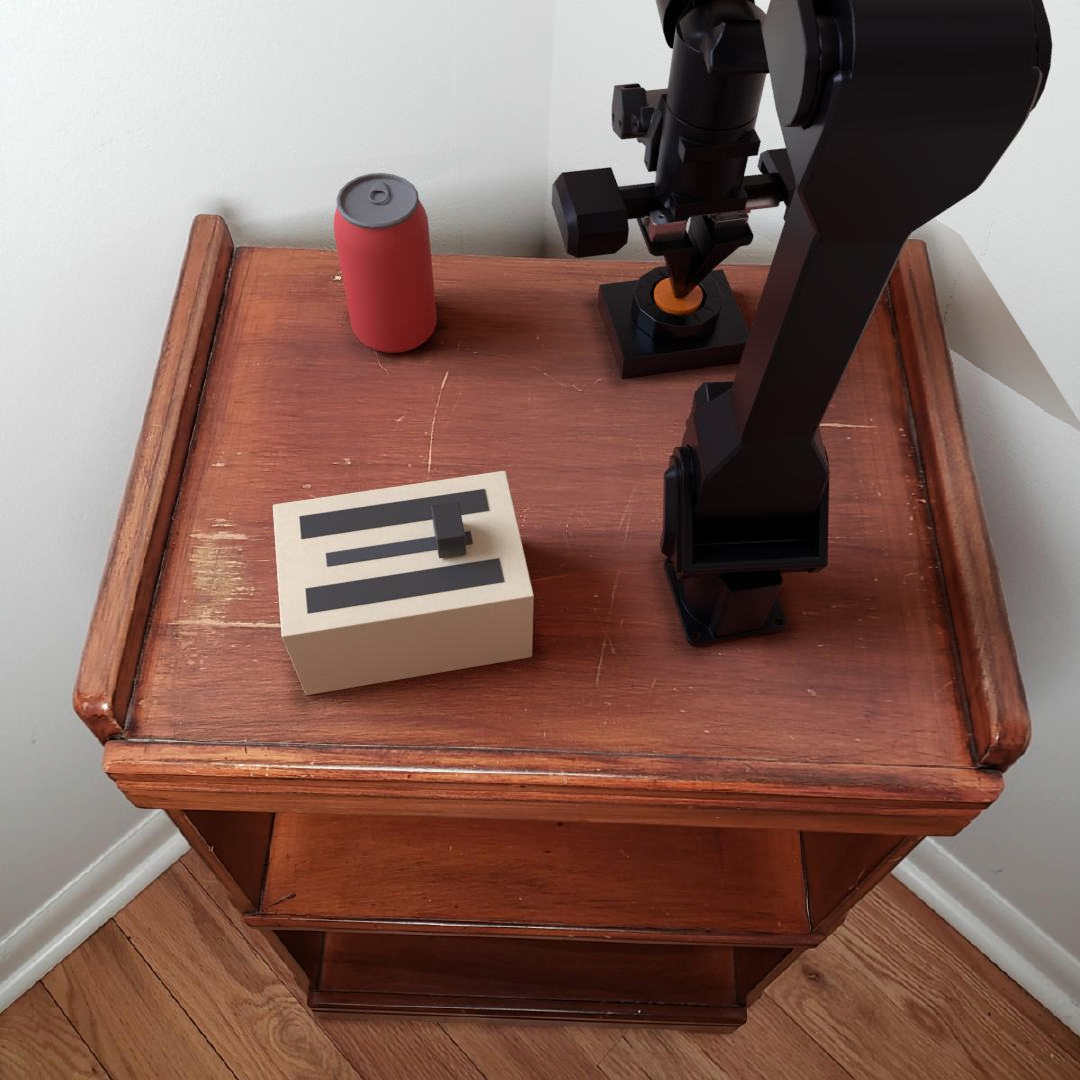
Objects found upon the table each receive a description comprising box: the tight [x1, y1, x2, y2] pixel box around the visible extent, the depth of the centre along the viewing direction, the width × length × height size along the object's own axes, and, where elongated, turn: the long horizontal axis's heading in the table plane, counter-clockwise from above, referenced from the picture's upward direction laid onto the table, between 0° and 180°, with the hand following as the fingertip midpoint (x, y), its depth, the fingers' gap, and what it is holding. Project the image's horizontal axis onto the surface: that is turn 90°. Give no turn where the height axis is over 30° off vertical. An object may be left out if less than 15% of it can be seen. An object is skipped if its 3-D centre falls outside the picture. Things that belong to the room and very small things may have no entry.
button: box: [653, 278, 703, 315], centre depth 76 cm, size 4×4×2 cm
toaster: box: [272, 470, 535, 696], centre depth 62 cm, size 9×14×8 cm, turn 101°
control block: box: [597, 265, 750, 380], centre depth 77 cm, size 8×10×4 cm
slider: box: [431, 502, 466, 558], centre depth 58 cm, size 2×2×2 cm
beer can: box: [333, 172, 438, 354], centre depth 74 cm, size 7×7×12 cm
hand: (678, 293), depth 75 cm, fingers closed, pressing on button
